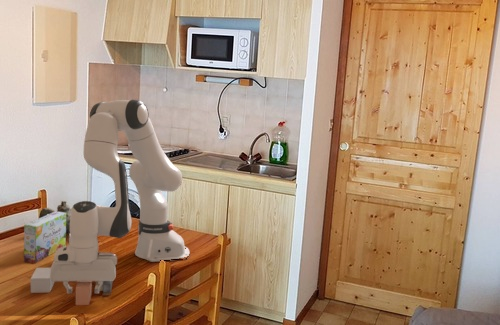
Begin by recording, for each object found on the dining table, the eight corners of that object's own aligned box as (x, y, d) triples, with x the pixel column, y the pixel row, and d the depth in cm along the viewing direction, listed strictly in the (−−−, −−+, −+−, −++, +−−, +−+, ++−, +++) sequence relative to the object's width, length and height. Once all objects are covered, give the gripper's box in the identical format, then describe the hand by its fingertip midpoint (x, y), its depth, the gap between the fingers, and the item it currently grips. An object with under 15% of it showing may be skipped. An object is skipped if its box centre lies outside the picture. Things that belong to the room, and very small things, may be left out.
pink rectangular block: (91, 297, 173) (91, 277, 172) (88, 308, 165) (88, 287, 164) (79, 297, 172) (79, 277, 171) (75, 308, 165) (75, 287, 163)
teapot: (76, 225, 245) (76, 194, 242) (90, 231, 238) (90, 199, 235) (33, 234, 228) (32, 201, 226) (46, 241, 221) (46, 207, 218)
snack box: (36, 264, 197) (36, 226, 194) (23, 262, 198) (22, 224, 195) (66, 246, 217) (67, 211, 214) (54, 244, 218) (54, 210, 216)
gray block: (54, 281, 180) (54, 267, 180) (49, 292, 172) (49, 278, 171) (36, 281, 179) (36, 267, 178) (30, 292, 171) (30, 278, 170)
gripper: (118, 249, 171) (116, 288, 173) (52, 248, 167) (52, 289, 169) (116, 256, 165) (115, 296, 167) (48, 256, 161) (48, 297, 163)
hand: (83, 292), depth 168 cm, fingers open, 7 cm apart
